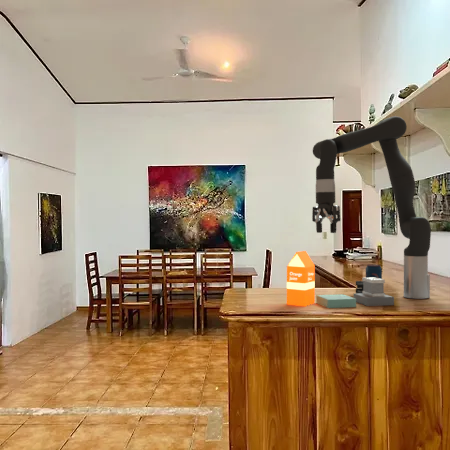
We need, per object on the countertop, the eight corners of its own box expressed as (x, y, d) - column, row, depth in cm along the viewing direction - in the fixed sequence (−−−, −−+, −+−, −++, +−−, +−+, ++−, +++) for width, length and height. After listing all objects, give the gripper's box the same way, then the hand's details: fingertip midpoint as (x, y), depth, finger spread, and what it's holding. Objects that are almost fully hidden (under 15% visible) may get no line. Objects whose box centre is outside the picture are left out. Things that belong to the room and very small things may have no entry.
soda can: (363, 292, 214) (364, 265, 214) (367, 290, 220) (367, 263, 220) (380, 293, 211) (380, 265, 211) (383, 291, 217) (383, 264, 217)
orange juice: (286, 304, 183) (286, 251, 183) (296, 301, 190) (296, 250, 190) (305, 306, 178) (305, 252, 178) (315, 303, 186) (315, 251, 186)
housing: (362, 293, 189) (362, 277, 189) (374, 293, 190) (374, 277, 190) (372, 297, 182) (372, 280, 182) (384, 296, 183) (384, 279, 183)
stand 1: (342, 301, 188) (342, 294, 188) (356, 306, 178) (356, 298, 177) (316, 302, 186) (316, 295, 186) (328, 307, 175) (328, 299, 175)
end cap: (375, 299, 195) (375, 282, 195) (357, 298, 196) (357, 282, 196) (372, 295, 205) (372, 279, 205) (355, 295, 206) (355, 279, 206)
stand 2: (379, 300, 193) (379, 292, 192) (394, 304, 182) (394, 297, 182) (353, 301, 190) (353, 293, 190) (367, 305, 180) (367, 297, 179)
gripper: (345, 190, 184) (345, 232, 185) (321, 192, 197) (322, 232, 197) (329, 190, 181) (330, 233, 181) (306, 192, 194) (307, 232, 194)
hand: (326, 232), depth 189 cm, fingers open, 8 cm apart
